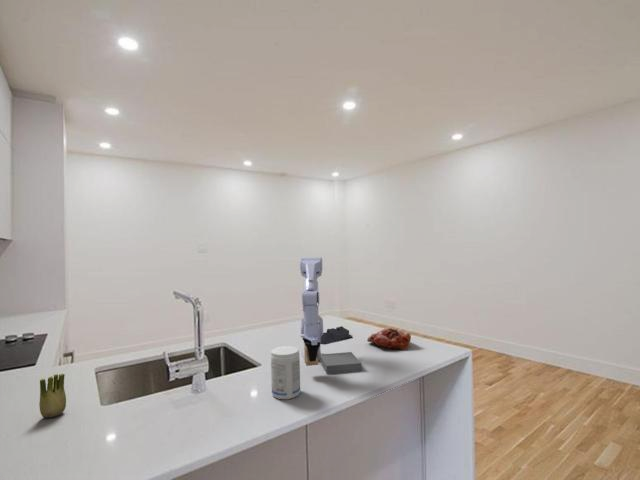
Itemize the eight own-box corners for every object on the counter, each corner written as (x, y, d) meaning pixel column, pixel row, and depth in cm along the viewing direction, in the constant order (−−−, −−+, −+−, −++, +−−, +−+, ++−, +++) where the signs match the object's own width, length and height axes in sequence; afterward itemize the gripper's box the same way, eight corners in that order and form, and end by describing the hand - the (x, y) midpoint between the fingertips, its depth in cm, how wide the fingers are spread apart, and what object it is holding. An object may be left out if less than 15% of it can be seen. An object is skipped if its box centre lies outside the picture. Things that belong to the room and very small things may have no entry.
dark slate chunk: (305, 339, 179) (305, 330, 179) (337, 332, 193) (337, 324, 193) (323, 346, 167) (323, 336, 167) (356, 338, 181) (356, 329, 181)
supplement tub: (294, 385, 120) (293, 344, 120) (304, 396, 111) (304, 351, 111) (267, 391, 115) (267, 348, 116) (276, 403, 107) (276, 356, 107)
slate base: (319, 361, 144) (319, 354, 144) (351, 358, 147) (351, 352, 147) (326, 373, 130) (326, 366, 130) (361, 370, 133) (361, 363, 133)
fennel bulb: (38, 421, 97) (38, 379, 98) (44, 414, 102) (44, 373, 102) (62, 417, 100) (62, 376, 100) (67, 410, 104) (67, 370, 104)
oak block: (304, 361, 130) (304, 346, 130) (316, 360, 131) (316, 345, 131) (306, 365, 126) (306, 349, 126) (318, 364, 127) (318, 348, 127)
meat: (358, 342, 171) (357, 323, 171) (392, 337, 180) (392, 318, 180) (382, 354, 152) (382, 332, 152) (419, 348, 161) (419, 327, 161)
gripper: (297, 319, 135) (298, 353, 135) (303, 328, 121) (303, 366, 120) (315, 318, 136) (315, 352, 136) (322, 326, 122) (323, 364, 122)
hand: (311, 358), depth 128 cm, fingers closed on oak block, 4 cm apart
